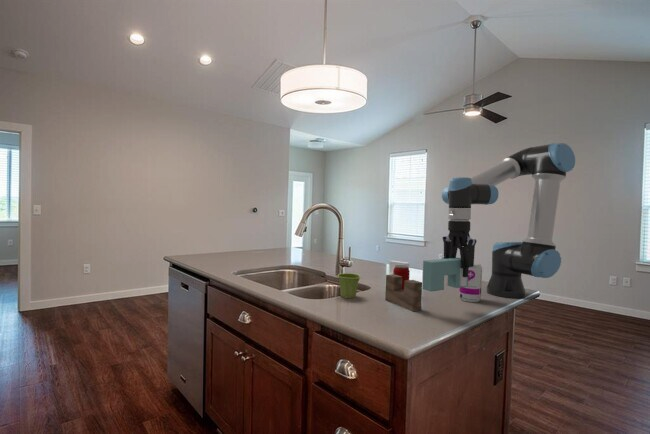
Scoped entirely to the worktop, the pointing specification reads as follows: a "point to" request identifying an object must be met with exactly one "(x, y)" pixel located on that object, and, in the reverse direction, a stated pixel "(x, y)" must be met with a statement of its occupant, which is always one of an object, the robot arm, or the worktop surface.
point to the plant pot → (348, 284)
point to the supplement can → (472, 285)
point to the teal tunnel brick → (441, 273)
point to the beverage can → (402, 273)
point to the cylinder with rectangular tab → (394, 263)
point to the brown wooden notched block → (404, 292)
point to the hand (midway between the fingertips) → (457, 284)
